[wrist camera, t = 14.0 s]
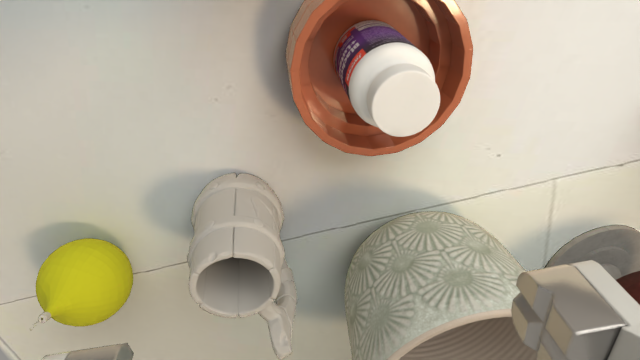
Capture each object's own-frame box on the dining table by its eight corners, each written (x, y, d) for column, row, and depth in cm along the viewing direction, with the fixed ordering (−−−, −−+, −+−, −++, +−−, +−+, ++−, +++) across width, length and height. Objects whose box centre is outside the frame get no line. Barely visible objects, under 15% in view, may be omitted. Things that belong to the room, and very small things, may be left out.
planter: (465, 153, 39) (571, 271, 26) (506, 271, 48) (600, 403, 35) (298, 233, 41) (320, 379, 28) (367, 332, 50) (407, 477, 37)
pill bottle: (331, 20, 31) (360, 60, 23) (405, 16, 31) (459, 53, 23) (332, 93, 34) (358, 152, 26) (400, 88, 34) (447, 144, 26)
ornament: (62, 212, 37) (5, 302, 28) (148, 233, 39) (120, 322, 30) (50, 272, 40) (-4, 370, 31) (131, 288, 42) (101, 383, 34)
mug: (248, 153, 36) (247, 247, 26) (320, 241, 42) (343, 346, 32) (175, 198, 37) (147, 305, 27) (255, 278, 43) (257, 389, 33)
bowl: (275, -26, 29) (279, -16, 25) (450, -46, 30) (482, -38, 26) (295, 136, 36) (301, 166, 32) (439, 116, 37) (463, 143, 32)
